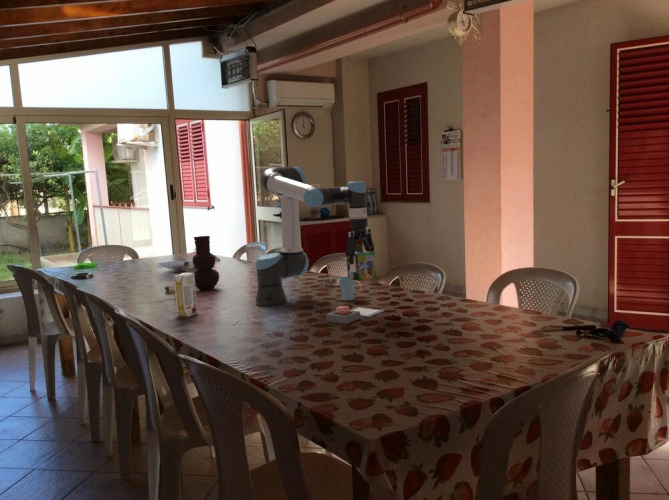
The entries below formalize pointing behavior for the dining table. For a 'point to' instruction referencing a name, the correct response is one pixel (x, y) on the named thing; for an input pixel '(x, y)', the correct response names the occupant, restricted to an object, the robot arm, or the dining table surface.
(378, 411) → the dining table surface
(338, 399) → the dining table surface
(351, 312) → the button housing
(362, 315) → the sketch board
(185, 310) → the juice carton
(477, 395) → the dining table surface
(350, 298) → the cup
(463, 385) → the dining table surface
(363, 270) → the chalk box
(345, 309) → the button
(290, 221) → the robot arm
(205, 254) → the vase
